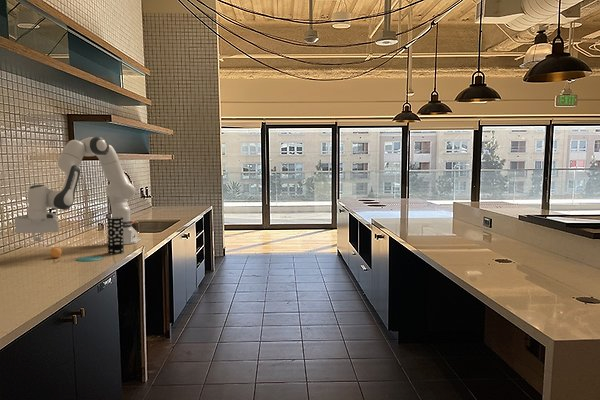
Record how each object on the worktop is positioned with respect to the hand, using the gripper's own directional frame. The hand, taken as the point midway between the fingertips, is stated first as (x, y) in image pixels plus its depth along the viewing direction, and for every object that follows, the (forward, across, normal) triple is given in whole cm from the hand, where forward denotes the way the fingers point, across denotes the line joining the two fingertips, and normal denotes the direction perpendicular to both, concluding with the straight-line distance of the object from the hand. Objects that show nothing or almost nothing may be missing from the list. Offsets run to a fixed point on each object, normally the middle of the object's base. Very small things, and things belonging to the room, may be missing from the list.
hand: (37, 240), depth 237 cm
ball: (+6, +9, -5) cm, 12 cm away
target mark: (+8, +25, -15) cm, 30 cm away
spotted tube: (+8, +38, -3) cm, 40 cm away
